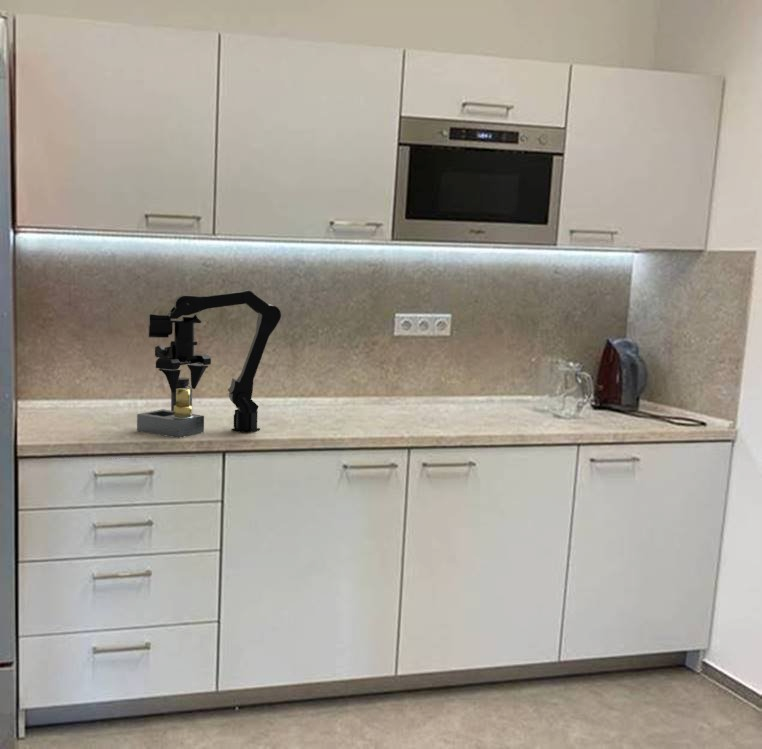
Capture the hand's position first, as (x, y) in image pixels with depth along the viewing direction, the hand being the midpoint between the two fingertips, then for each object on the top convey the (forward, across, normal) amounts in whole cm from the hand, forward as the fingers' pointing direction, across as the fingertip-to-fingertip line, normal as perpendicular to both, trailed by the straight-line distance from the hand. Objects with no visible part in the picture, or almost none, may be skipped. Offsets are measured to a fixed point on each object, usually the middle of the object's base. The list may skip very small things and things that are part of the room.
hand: (183, 390), depth 256 cm
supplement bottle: (+13, -22, -18) cm, 31 cm away
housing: (+12, +2, -3) cm, 13 cm away
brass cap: (+7, +2, +1) cm, 8 cm away
